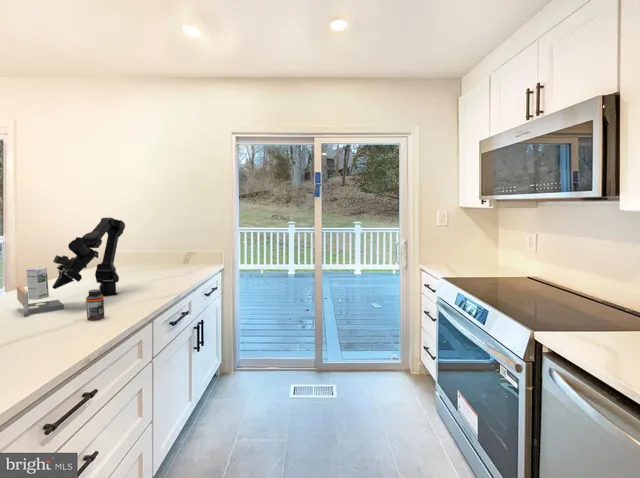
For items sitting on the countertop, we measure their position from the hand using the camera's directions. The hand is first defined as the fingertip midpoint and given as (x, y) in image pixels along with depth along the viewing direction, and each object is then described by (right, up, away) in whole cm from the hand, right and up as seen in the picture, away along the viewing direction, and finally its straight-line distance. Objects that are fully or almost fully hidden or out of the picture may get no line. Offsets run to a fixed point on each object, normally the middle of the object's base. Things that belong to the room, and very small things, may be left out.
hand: (53, 288), depth 159 cm
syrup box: (-22, -7, +21) cm, 31 cm away
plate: (-4, -9, -1) cm, 10 cm away
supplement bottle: (+25, -11, -11) cm, 29 cm away
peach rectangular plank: (-10, -5, -4) cm, 12 cm away
